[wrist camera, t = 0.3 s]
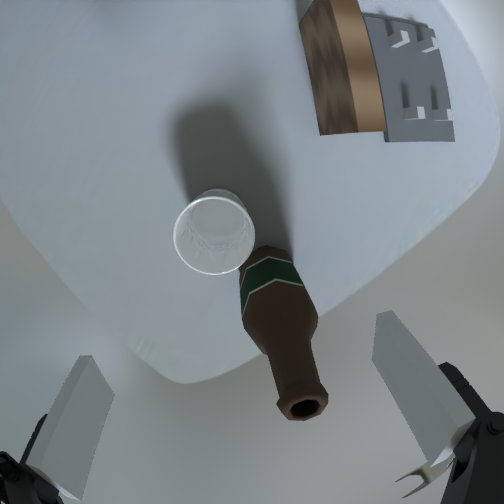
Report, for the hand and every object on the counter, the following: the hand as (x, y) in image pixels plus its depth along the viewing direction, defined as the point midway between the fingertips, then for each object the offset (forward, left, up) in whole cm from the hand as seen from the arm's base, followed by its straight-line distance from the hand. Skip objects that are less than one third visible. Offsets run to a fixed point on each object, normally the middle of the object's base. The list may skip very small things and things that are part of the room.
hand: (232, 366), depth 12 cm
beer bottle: (+8, +4, -27) cm, 29 cm away
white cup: (-1, -2, -27) cm, 27 cm away
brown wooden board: (-17, +15, -27) cm, 35 cm away
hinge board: (-17, +29, -27) cm, 43 cm away
